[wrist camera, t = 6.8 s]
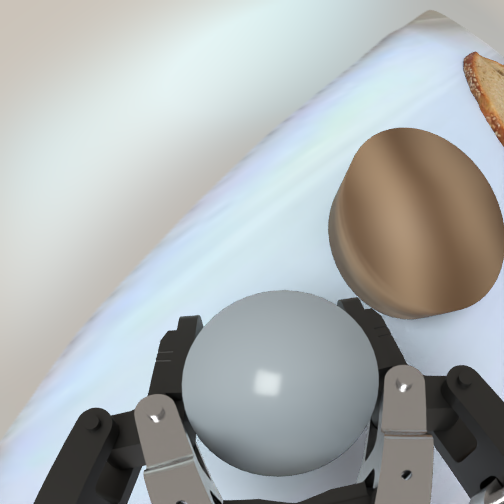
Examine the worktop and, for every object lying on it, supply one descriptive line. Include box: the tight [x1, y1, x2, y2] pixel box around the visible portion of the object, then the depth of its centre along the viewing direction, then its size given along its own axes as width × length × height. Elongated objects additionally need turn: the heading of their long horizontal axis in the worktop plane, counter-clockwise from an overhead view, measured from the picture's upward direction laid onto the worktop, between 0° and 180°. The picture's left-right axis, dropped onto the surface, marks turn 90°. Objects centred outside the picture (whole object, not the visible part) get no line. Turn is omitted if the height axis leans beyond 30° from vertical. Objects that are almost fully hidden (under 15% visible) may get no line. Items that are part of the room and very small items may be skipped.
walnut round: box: [328, 128, 504, 319], centre depth 18 cm, size 12×12×5 cm
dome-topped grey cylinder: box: [182, 290, 379, 477], centre depth 12 cm, size 5×5×10 cm
